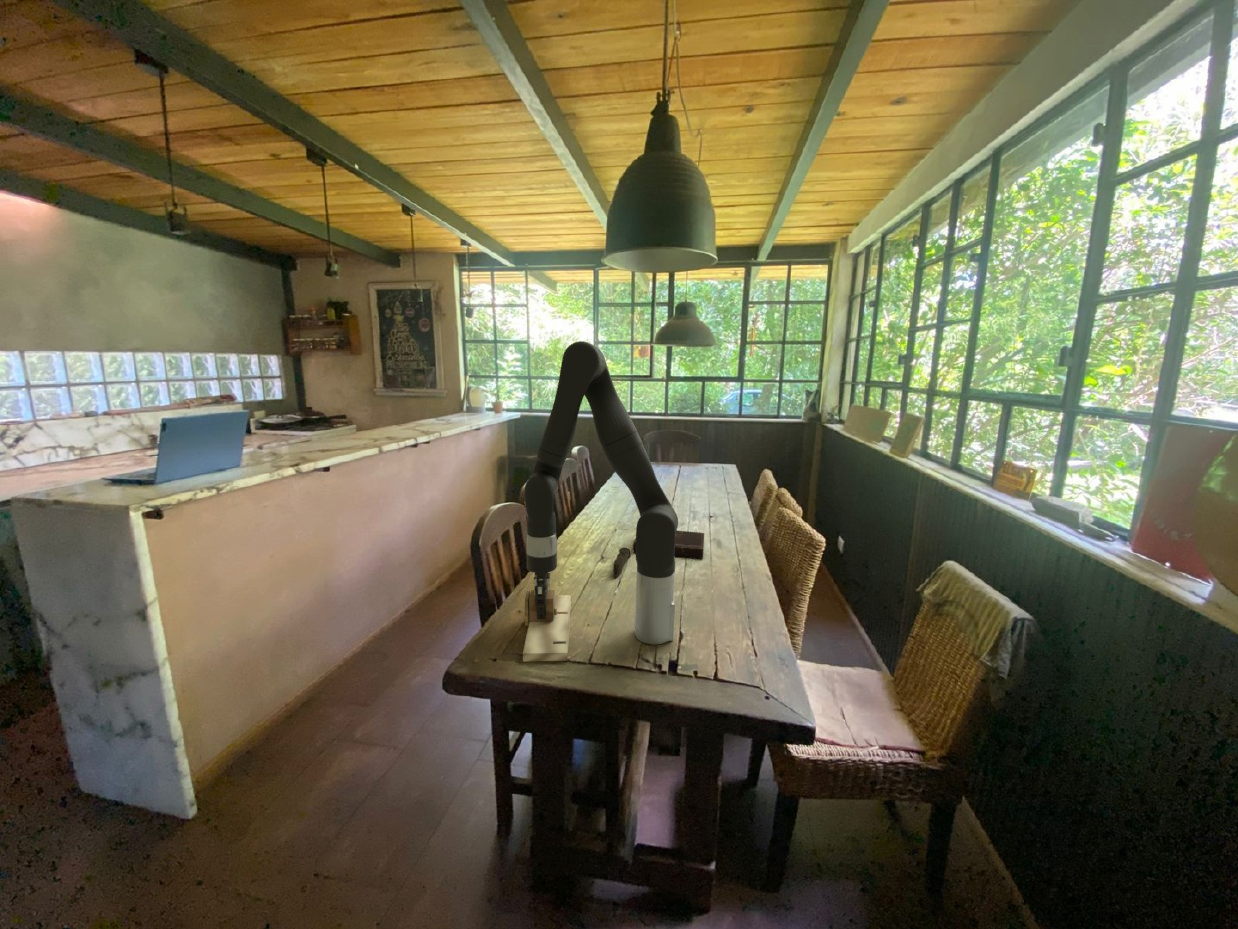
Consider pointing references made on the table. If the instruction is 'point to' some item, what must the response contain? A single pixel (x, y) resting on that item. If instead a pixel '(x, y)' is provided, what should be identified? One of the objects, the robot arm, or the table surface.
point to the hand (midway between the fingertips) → (542, 612)
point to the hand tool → (620, 561)
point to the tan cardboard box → (532, 609)
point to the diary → (686, 544)
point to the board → (550, 635)
